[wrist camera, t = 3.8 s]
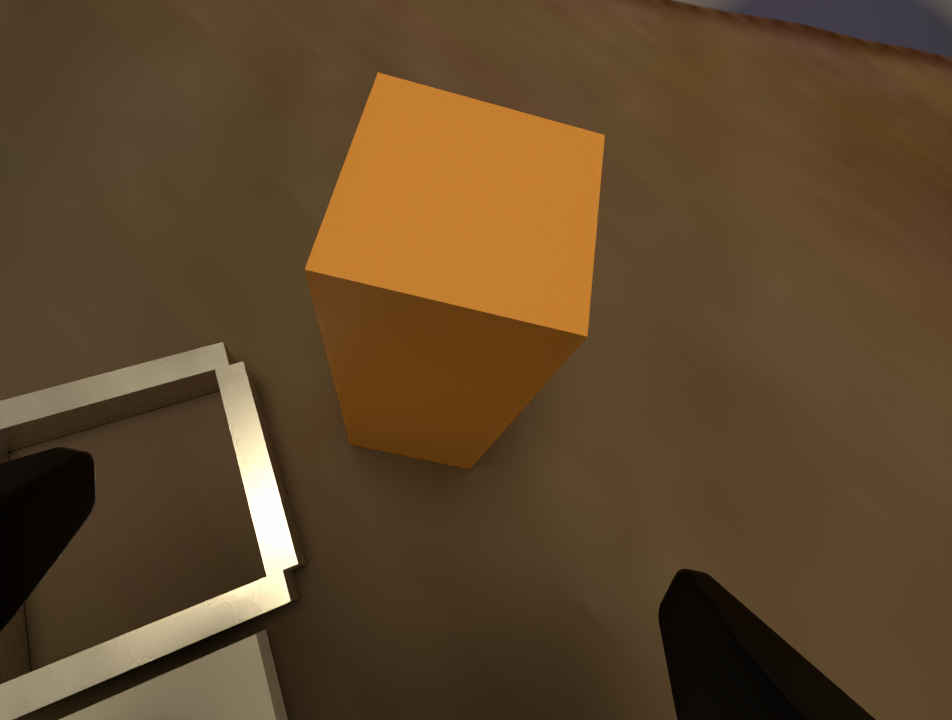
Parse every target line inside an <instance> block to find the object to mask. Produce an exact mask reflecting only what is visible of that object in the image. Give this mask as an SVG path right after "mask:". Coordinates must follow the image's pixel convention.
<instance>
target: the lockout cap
mask: <svg viewBox="0 0 952 720" xmlns="http://www.w3.org/2000/svg"><path fill="white" fill-rule="evenodd" d="M604 137H605V135H603V134H599V133H595V132H592V131H588V130H585V129H581V128H577V127H574V126H570V125H566V124H563V123H559V122H556V121H552V120H548V119H545V118H541V117H537V116H534V115H530V114H527V113H523V112H519V111H516V110H512V109H508V108H505V107H501V106H498V105H494V104H490V103H487V102H483V101H479V100H476V99H472V98H469V97H465V96H461V95H458V94H454V93H450V92H447V91H443V90H440V89H436V88H432V87H429V86H425V85H421V84H418V83H414V82H411V81H407V80H403V79H400V78H396V77H392V76H389V75H385V74H382V73H378V74H377V77H376V79H375V82H374V85H373V87H372V90H371V93H370V95H369V98H368V101H367V103H366V106H365V109H364V112H363V114H362V117H361V120H360V122H359V125H358V128H357V130H356V133H355V136H354V138H353V141H352V144H351V147H350V149H349V152H348V155H347V157H346V160H345V163H344V165H343V168H342V171H341V173H340V176H339V179H338V181H337V184H336V187H335V190H334V192H333V195H332V198H331V200H330V203H329V206H328V208H327V211H326V214H325V216H324V219H323V222H322V224H321V227H320V230H319V233H318V235H317V238H316V241H315V243H314V246H313V249H312V251H311V254H310V257H309V259H308V262H307V265H306V268H305V272H306V276H307V280H308V284H309V288H310V292H311V296H312V300H313V303H314V307H315V311H316V315H317V319H318V323H319V327H320V331H321V334H322V338H323V342H324V346H325V350H326V354H327V358H328V362H329V365H330V369H331V373H332V377H333V381H334V385H335V389H336V393H337V396H338V400H339V404H340V408H341V412H342V416H343V420H344V424H345V428H346V431H347V435H348V439H349V443H350V445H354V446H359V447H363V448H368V449H373V450H378V451H383V452H388V453H392V454H397V455H402V456H407V457H412V458H416V459H421V460H426V461H431V462H436V463H441V464H445V465H450V466H455V467H460V468H465V469H471V468H472V467H473V466H474V464H475V463H476V462H477V461H478V460H479V459H480V458H481V457H482V455H483V454H484V453H485V452H486V451H487V450H488V449H489V447H490V446H491V445H492V444H493V443H494V442H495V441H496V440H497V438H498V437H499V436H500V435H501V434H502V433H503V432H504V430H505V429H506V428H507V427H508V426H509V425H510V424H511V422H512V421H513V420H514V419H515V418H516V417H517V416H518V415H519V413H520V412H521V411H522V410H523V409H524V408H525V407H526V405H527V404H528V403H529V402H530V401H531V400H532V399H533V398H534V396H535V395H536V394H537V393H538V392H539V391H540V390H541V388H542V387H543V386H544V385H545V384H546V383H547V382H548V380H549V379H550V378H551V377H552V376H553V375H554V374H555V373H556V371H557V370H558V369H559V368H560V367H561V366H562V365H563V363H564V362H565V361H566V360H567V359H568V358H569V357H570V356H571V354H572V353H573V352H574V351H575V350H576V349H577V348H578V346H579V345H580V344H581V343H582V342H583V341H584V340H585V338H586V337H587V334H588V322H589V311H590V299H591V288H592V276H593V264H594V253H595V241H596V230H597V218H598V206H599V195H600V183H601V172H602V160H603V149H604Z"/></svg>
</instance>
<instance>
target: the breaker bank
mask: <svg viewBox="0 0 952 720" xmlns="http://www.w3.org/2000/svg"><path fill="white" fill-rule="evenodd" d="M58 720H288V718H287V714H286V710H285V706H284V702H283V697H282V693H281V689H280V685H279V681H278V677H277V673H276V669H275V664H274V660H273V656H272V652H271V648H270V644H269V640H268V636H267V631H266V629H265V630H263V631H260V632H258V633H256V634H253V635H251V636H249V637H246V638H244V639H242V640H240V641H237V642H235V643H233V644H230V645H228V646H226V647H223V648H221V649H219V650H217V651H214V652H212V653H210V654H207V655H205V656H203V657H200V658H198V659H196V660H194V661H191V662H189V663H187V664H184V665H182V666H180V667H177V668H175V669H173V670H171V671H168V672H166V673H164V674H161V675H159V676H157V677H154V678H152V679H150V680H148V681H145V682H143V683H141V684H138V685H136V686H134V687H131V688H129V689H127V690H125V691H122V692H120V693H118V694H115V695H113V696H111V697H108V698H106V699H104V700H102V701H99V702H97V703H95V704H92V705H90V706H88V707H85V708H83V709H81V710H79V711H76V712H74V713H72V714H69V715H67V716H65V717H62V718H60V719H58Z"/></svg>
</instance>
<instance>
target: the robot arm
mask: <svg viewBox="0 0 952 720" xmlns="http://www.w3.org/2000/svg"><path fill="white" fill-rule="evenodd" d="M95 502H96V480H95V461H94V458H93V456H92V455H91V454H90V453H88V452H86V451H81V450H76V449H71V448H65V447H57V448H53V449H49V450H46V451H42V452H39V453H35V454H32V455H28V456H25V457H21V458H18V459H14V460H11V461H7V462H4V463H0V632H1V631H2V630H3V629H4V628H5V627H6V625H7V624H8V623H9V622H10V621H11V620H12V618H13V617H14V616H15V615H16V614H17V612H18V611H19V610H20V609H21V607H22V606H23V605H24V603H25V602H26V601H27V600H28V598H29V597H30V596H31V594H32V593H33V592H34V590H35V589H36V588H37V586H38V585H39V584H40V582H41V581H42V580H43V578H44V577H45V576H46V574H47V573H48V572H49V570H50V569H51V567H52V566H53V565H54V563H55V562H56V561H57V559H58V558H59V557H60V555H61V554H62V553H63V551H64V550H65V549H66V547H67V546H68V545H69V543H70V542H71V541H72V539H73V538H74V536H75V535H76V534H77V532H78V531H79V530H80V528H81V527H82V526H83V524H84V523H85V522H86V520H87V519H88V518H89V516H90V515H91V513H92V511H93V509H94V506H95ZM659 625H660V630H661V636H662V641H663V646H664V652H665V657H666V662H667V668H668V673H669V678H670V684H671V689H672V694H673V700H674V705H675V710H676V714H677V719H678V720H875V719H874V718H873V717H872V716H871V715H870V714H869V713H867V712H866V711H865V710H864V709H863V708H862V707H860V706H859V705H858V704H857V703H856V702H855V701H854V700H852V699H851V698H850V697H849V696H848V695H847V694H846V693H844V692H843V691H842V690H841V689H840V688H839V687H837V686H836V685H835V684H834V683H833V682H832V681H831V680H829V679H828V678H827V677H826V676H825V675H824V674H823V673H821V672H820V671H819V670H818V669H817V668H816V667H814V666H813V665H812V664H811V663H810V662H809V661H808V660H806V659H805V658H804V657H803V656H802V655H801V654H800V653H798V652H797V651H796V650H795V649H794V648H793V647H791V646H790V645H789V644H788V643H787V642H786V641H785V640H783V639H782V638H781V637H780V636H779V635H778V634H777V633H775V632H774V631H773V630H772V629H771V628H770V627H768V626H767V625H766V624H765V623H764V622H763V621H762V620H760V619H759V618H758V617H757V616H756V615H755V614H754V613H752V612H751V611H750V610H749V609H748V608H747V607H745V606H744V605H743V604H742V603H741V602H740V601H739V600H737V599H736V598H735V597H734V596H733V595H732V594H730V593H729V592H728V591H727V590H726V589H725V588H724V587H722V586H721V585H720V584H719V583H718V582H717V581H716V580H714V579H713V578H712V577H711V576H710V575H708V574H706V573H704V572H700V571H695V570H690V569H681V570H679V571H678V572H677V573H676V575H675V576H674V578H673V580H672V582H671V584H670V586H669V588H668V590H667V592H666V594H665V596H664V598H663V600H662V602H661V604H660V608H659Z"/></svg>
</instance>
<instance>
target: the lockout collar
mask: <svg viewBox="0 0 952 720" xmlns="http://www.w3.org/2000/svg"><path fill="white" fill-rule="evenodd" d="M219 390H220V392H221V396H222V400H223V404H224V408H225V412H226V416H227V420H228V424H229V428H230V432H231V436H232V440H233V444H234V448H235V452H236V456H237V460H238V464H239V468H240V472H241V476H242V480H243V484H244V488H245V492H246V496H247V500H248V504H249V508H250V512H251V516H252V520H253V524H254V528H255V532H256V536H257V540H258V544H259V548H260V552H261V556H262V560H263V564H264V568H265V572H266V576H267V577H264V578H262V579H259V580H257V581H254V582H252V583H250V584H247V585H245V586H242V587H240V588H237V589H235V590H232V591H230V592H227V593H225V594H222V595H220V596H217V597H215V598H213V599H210V600H208V601H205V602H203V603H200V604H198V605H195V606H193V607H190V608H188V609H185V610H183V611H180V612H178V613H175V614H173V615H171V616H168V617H166V618H163V619H161V620H158V621H156V622H153V623H151V624H148V625H146V626H143V627H141V628H138V629H136V630H134V631H131V632H129V633H126V634H124V635H121V636H119V637H116V638H114V639H111V640H109V641H106V642H104V643H101V644H99V645H96V646H94V647H92V648H89V649H87V650H84V651H82V652H79V653H77V654H74V655H72V656H69V657H67V658H64V659H62V660H59V661H57V662H55V663H52V664H50V665H47V666H45V667H42V668H40V669H37V670H35V671H32V672H31V671H30V661H29V651H28V642H27V632H26V623H25V613H24V605H23V606H22V607H21V609H20V610H19V611H18V612H17V614H16V615H15V616H14V617H13V618H12V620H11V621H10V622H9V623H8V624H7V625H6V627H5V628H4V629H3V630H2V631H1V632H0V720H15V719H17V718H19V717H22V716H24V715H27V714H29V713H31V712H34V711H36V710H38V709H41V708H43V707H45V706H48V705H50V704H52V703H55V702H57V701H59V700H62V699H64V698H66V697H69V696H71V695H74V694H76V693H78V692H81V691H83V690H85V689H88V688H90V687H92V686H95V685H97V684H99V683H102V682H104V681H106V680H109V679H111V678H114V677H116V676H118V675H121V674H123V673H125V672H128V671H130V670H132V669H135V668H137V667H139V666H142V665H144V664H146V663H149V662H151V661H153V660H156V659H158V658H161V657H163V656H165V655H168V654H170V653H172V652H175V651H177V650H179V649H182V648H184V647H186V646H189V645H191V644H193V643H196V642H198V641H201V640H203V639H205V638H208V637H210V636H212V635H215V634H217V633H219V632H222V631H224V630H226V629H229V628H231V627H233V626H236V625H238V624H240V623H243V622H245V621H248V620H250V619H252V618H255V617H257V616H259V615H262V614H264V613H266V612H269V611H271V610H273V609H276V608H278V607H280V606H283V605H285V604H287V603H290V602H292V601H295V600H297V599H299V598H300V596H299V592H298V589H297V585H296V581H295V577H294V574H293V570H294V569H296V568H299V567H301V566H304V565H306V561H305V557H304V554H303V550H302V546H301V543H300V539H299V536H298V532H297V528H296V525H295V521H294V517H293V514H292V510H291V507H290V503H289V499H288V496H287V492H286V488H285V485H284V481H283V478H282V474H281V470H280V467H279V463H278V459H277V456H276V452H275V449H274V445H273V441H272V438H271V434H270V430H269V427H268V423H267V420H266V416H265V412H264V409H263V405H262V401H261V398H260V394H259V391H258V387H257V383H256V380H255V378H254V377H253V375H252V374H251V372H250V371H249V369H248V368H247V366H246V365H245V363H244V362H239V363H237V361H236V360H235V358H234V357H233V355H232V354H231V353H230V351H229V350H228V348H227V347H226V345H225V344H224V343H223V342H221V343H217V344H214V345H210V346H206V347H202V348H199V349H195V350H191V351H187V352H183V353H180V354H176V355H172V356H168V357H165V358H161V359H157V360H153V361H149V362H146V363H142V364H138V365H134V366H131V367H127V368H123V369H119V370H116V371H112V372H108V373H104V374H100V375H97V376H93V377H89V378H85V379H82V380H78V381H74V382H70V383H67V384H63V385H59V386H55V387H51V388H48V389H44V390H40V391H36V392H33V393H29V394H25V395H21V396H18V397H14V398H10V399H6V400H2V401H0V463H4V462H7V461H9V460H8V452H9V451H13V450H16V449H20V448H23V447H27V446H30V445H33V444H37V443H40V442H44V441H47V440H51V439H54V438H57V437H61V436H64V435H68V434H71V433H75V432H78V431H82V430H85V429H88V428H92V427H95V426H99V425H102V424H106V423H109V422H112V421H116V420H119V419H123V418H126V417H130V416H133V415H136V414H140V413H143V412H147V411H150V410H154V409H157V408H160V407H164V406H167V405H171V404H174V403H178V402H181V401H184V400H188V399H191V398H195V397H198V396H202V395H205V394H208V393H212V392H215V391H219Z"/></svg>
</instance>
